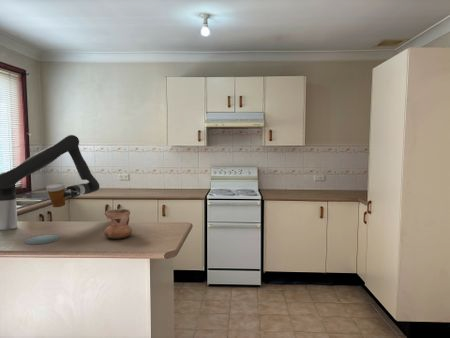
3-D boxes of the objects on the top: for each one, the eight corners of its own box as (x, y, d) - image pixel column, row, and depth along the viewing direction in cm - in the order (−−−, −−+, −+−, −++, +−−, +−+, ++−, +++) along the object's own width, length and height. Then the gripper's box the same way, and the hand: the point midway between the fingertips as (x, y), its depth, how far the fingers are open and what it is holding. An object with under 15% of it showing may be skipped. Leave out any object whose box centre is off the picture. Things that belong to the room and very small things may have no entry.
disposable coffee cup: (54, 209, 178) (50, 189, 174) (46, 206, 183) (42, 186, 180) (71, 204, 185) (68, 184, 182) (63, 200, 191) (59, 181, 187)
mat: (17, 241, 166) (17, 241, 166) (47, 234, 180) (47, 233, 180) (36, 246, 159) (36, 245, 159) (66, 237, 173) (66, 237, 173)
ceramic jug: (119, 242, 164) (119, 215, 163) (96, 239, 169) (95, 212, 168) (140, 234, 181) (140, 208, 180) (118, 231, 186) (118, 206, 185)
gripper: (64, 184, 199) (45, 188, 183) (85, 185, 197) (68, 188, 181) (65, 196, 200) (46, 201, 184) (86, 197, 198) (69, 202, 182)
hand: (57, 195), depth 183 cm, fingers closed on disposable coffee cup, 8 cm apart
